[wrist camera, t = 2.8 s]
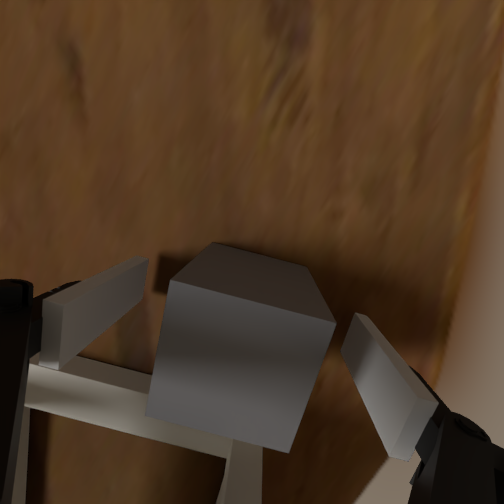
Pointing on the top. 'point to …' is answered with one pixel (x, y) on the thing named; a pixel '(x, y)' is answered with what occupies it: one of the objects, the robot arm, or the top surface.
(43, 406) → the stand
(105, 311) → the robot arm
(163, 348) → the basalt block
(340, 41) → the top surface
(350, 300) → the top surface
